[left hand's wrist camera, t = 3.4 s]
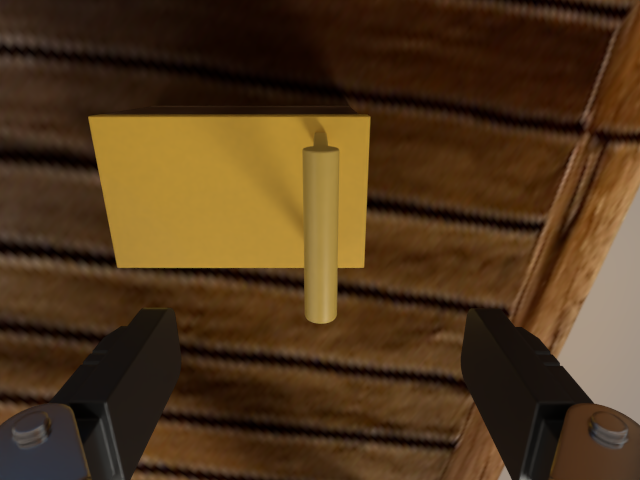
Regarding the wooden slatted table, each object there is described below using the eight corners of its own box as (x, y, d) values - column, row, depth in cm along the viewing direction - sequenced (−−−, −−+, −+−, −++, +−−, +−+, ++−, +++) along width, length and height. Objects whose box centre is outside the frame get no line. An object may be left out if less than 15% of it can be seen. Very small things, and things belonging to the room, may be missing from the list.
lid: (368, 114, 24) (393, 132, 16) (362, 259, 28) (380, 337, 19) (98, 114, 24) (-18, 132, 16) (125, 260, 28) (41, 337, 19)
